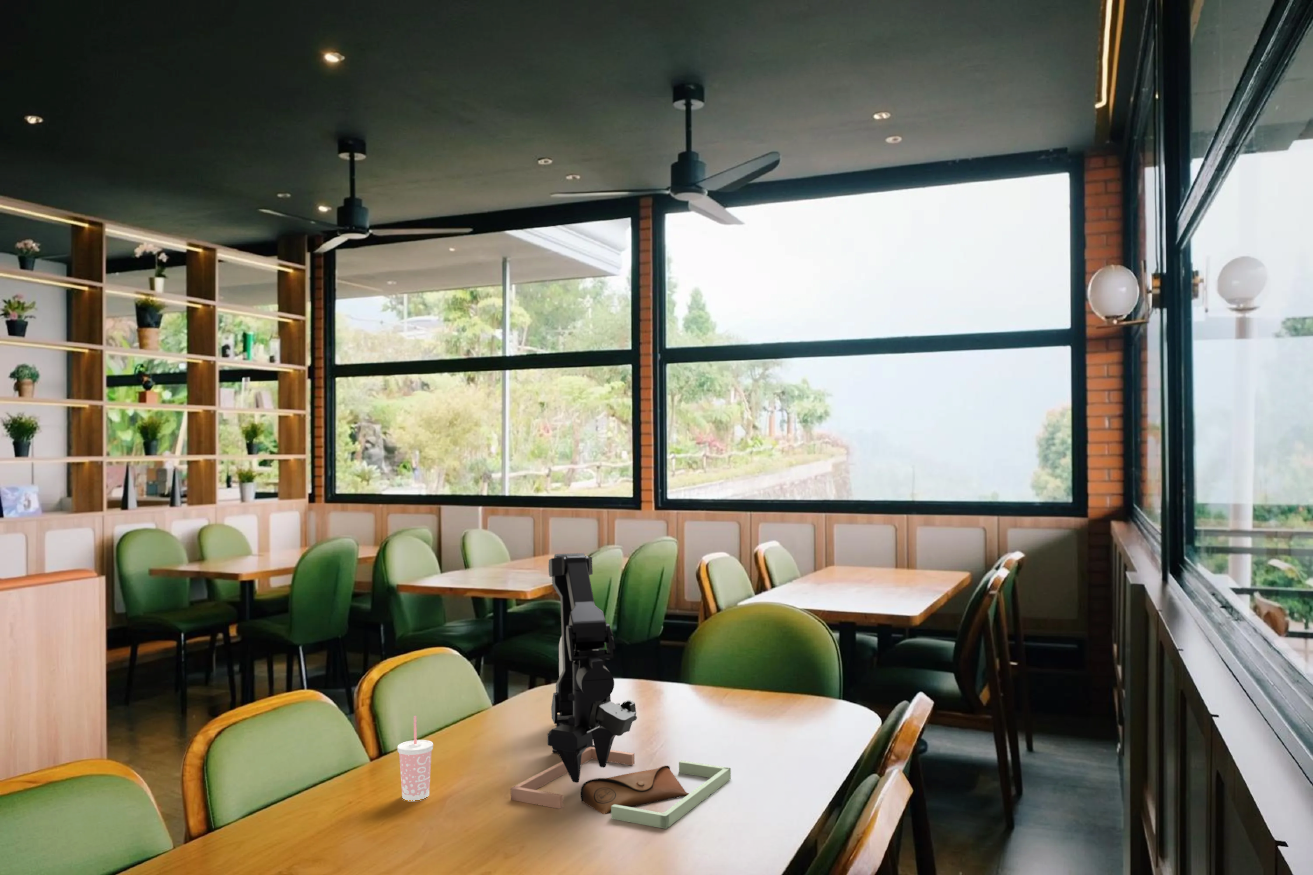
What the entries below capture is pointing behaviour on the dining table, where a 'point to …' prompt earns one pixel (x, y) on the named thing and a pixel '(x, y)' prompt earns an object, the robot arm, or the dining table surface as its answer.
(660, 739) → the dining table surface
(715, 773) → the mint green arch
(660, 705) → the dining table surface
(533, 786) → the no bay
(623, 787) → the sunglasses case
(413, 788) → the beverage cup
